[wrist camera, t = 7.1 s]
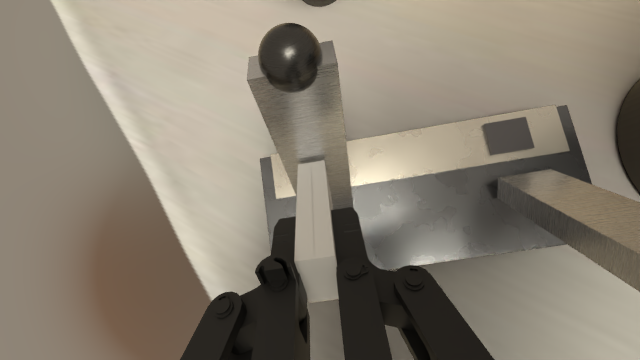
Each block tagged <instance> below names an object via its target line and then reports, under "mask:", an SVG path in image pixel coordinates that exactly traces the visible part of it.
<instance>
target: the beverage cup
mask: <svg viewBox="0 0 640 360" xmlns="http://www.w3.org/2000/svg"><path fill="white" fill-rule="evenodd" d="M303 1H304V2H306V3H307V4H309V5H312V6H321V7H322V6H326V5H329V4H331V3H333V2H334V1H336V0H303Z"/></svg>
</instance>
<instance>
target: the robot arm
mask: <svg viewBox="0 0 640 360" xmlns="http://www.w3.org/2000/svg"><path fill="white" fill-rule="evenodd" d="M617 138H618V146H619V151H620V155H621V159H622V162H623V164H624V167H625V169H626V171H627V173H628V175H629V177H630V179H631V180H632V182H633V184H634V185H635V186H636V188H637V189H638V191H639V192H640V80H639V81H638V82H637V83H636V84H635V85H634V86H633V88H632V89H631V90H630V92H629V93H628V95H627V97H626V99H625V101H624V103H623V105H622V108H621V111H620V114H619V119H618V127H617ZM255 273H256V275H257V277H258V279H259V281H260V283H261V285H260V286H258V287H257V288H255V289H254V290H252V291H250V292H247V293H245V294H243V295H241V296H239V295H238V294H237V293H234V292H225V293H223V294H221V295H219V296H217V297H216V298H215V299H214V300H212V302H211V303H210V305H209V306H208V308H207V310H206V311H205V314H204V315H203V317H202V319H201V321H200V323H199V325H198V327H197V329H196V331H195V332H194V334H193V336H192V338H191V340H190V342H189V344H188V346H187V348H186V350H185V352H184V353H183V355H182V357H181V359H180V360H310V323H309V313H308V310H307V299H308V302H309V303H314V302H321V301H329V300H336V299H339V307H340V316H341V326H342V336H343V345H344V355H345V360H392V356H391V352H390V347H389V343H388V339H387V334H386V330H385V326H384V325H389V326H394V327H397V328H398V330H399V331H400V333H401V335H402V337H403V339H404V341H405V343H406V345H407V347H408V349H409V350H410V352H411V354H412V356H413V358H414V360H494V359H493V357H492V356H491V355H490V353H489V352H488V351H487V349H486V348H485V347H484V345H483V344H482V343H481V341H480V340H479V339H478V337H477V336H476V335H475V333H474V332H473V331H472V329H471V328H470V327H469V325H468V324H467V323H466V321H465V320H464V319H463V317H462V316H461V315H460V313H459V312H458V310H457V309H456V308H455V306H454V305H453V304H452V302H451V301H450V300H449V298H448V297H447V296H446V294H445V293H444V292H443V290H442V289H441V288H440V286H439V285H438V284H437V282H436V281H435V280H434V278H433V277H432V276H431V274H430V273H428V272H427V271H426V270H425V269H423V268H421V267H419V266H414V265H408V266H403V267H402V268H400V269H398V270H397V272H394V271H387V270H383V269H380V268H378V267H376V266H374V265H373V264H372V263H371V262H370V260H369V259H368V256H367V252H366V248H365V243H364V239H363V235H362V231H361V226H360V221H359V217H358V213H357V212H356V211H355V210H354V209H353V208H352V207H347V208H341V209H334V210H333V205H332V197H331V192H330V187H329V182H328V176H327V171H326V166H325V161H324V160H322V161H316V162H310V163H304V164H298V175H297V202H296V216H294V217H288V218H282V219H279V220H278V222H277V223H276V225H275V227H274V232H273V240H272V248H271V256H269V257H267V258H265V259H264V260H262V261H261V262H260V264H259V265H258V266H257V268H256V271H255Z"/></svg>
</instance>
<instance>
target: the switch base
mask: <svg viewBox="0 0 640 360" xmlns="http://www.w3.org/2000/svg"><path fill="white" fill-rule="evenodd" d="M346 144H347V153H348V162H349V171H350V180H351V189H352V198H353V207H354V210H355V211H356V212H357V213H358V217H359V221H360V226H361V231H362V235H363V239H364V243H365V248H366V252H367V256H368V259H369V260H370V262H371V263H372V264H373V265H374V266H376V267H378V268H380V269H383V270H389V269H396V268H402V267H403V266H408V265H414V266H417V265H424V264H431V263H438V262H445V261H453V260H460V259H467V258H474V257H481V256H488V255H495V254H502V253H509V252H516V251H523V250H530V249H537V248H544V247H551V246H558V245H566V243H565V242H563V241H562V240H560V239H559V238H557V237H556V236H554V235H553V234H551V233H549V232H548V231H546V230H545V229H543V228H542V227H540V226H539V225H537V224H536V223H534V222H533V221H531V220H530V219H528V218H527V217H525V216H524V215H522V214H521V213H519V212H518V211H516V210H515V209H513V208H512V207H510V206H508V205H507V204H505V203H504V202H502V201H501V200H499V199H498V198H497V190H498V177H505V176H511V175H517V174H523V173H530V172H536V171H542V170H548V169H552V170H554V171H557V172H560V173H562V174H565V175H568V176H570V177H573V178H576V179H578V180H581V181H584V182H586V183H589V184H592V183H591V180H590V176H589V173H588V170H587V167H586V164H585V161H584V158H583V155H582V151H581V148H580V145H579V142H578V139H577V136H576V133H575V129H574V126H573V123H572V120H571V117H570V114H569V111H568V107H567V105H565V106H559V107H556V105H551V106H545V107H540V108H534V109H528V110H522V111H517V112H511V113H505V114H500V115H494V116H488V117H482V118H477V119H471V120H465V121H460V122H454V123H448V124H442V125H437V126H431V127H425V128H420V129H414V130H408V131H402V132H397V133H391V134H385V135H380V136H374V137H368V138H363V139H357V140H351V141H346ZM260 164H261V173H262V181H263V189H264V198H265V206H266V214H267V223H268V231H269V240H270V248H272V240H273V232H274V227H275V225H276V223H277V222H278V220H279V219H282V218H288V217H294V216H296V202H297V196H296V194H295V192H294V189H293V187H292V185H291V182H290V180H289V178H288V175H287V173H286V171H285V168H284V166H283V163H282V161H281V159H280V156H279V154H278V153H277V154H271V157H267V158H261V159H260Z"/></svg>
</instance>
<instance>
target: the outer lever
mask: <svg viewBox="0 0 640 360" xmlns="http://www.w3.org/2000/svg"><path fill="white" fill-rule="evenodd" d="M247 81H248V84H249V86H250V88H251V91H252V93H253V95H254V98H255V100H256V102H257V105H258V107H259V109H260V112H261V114H262V116H263V119H264V121H265V124H266V126H267V128H268V131H269V133H270V135H271V138H272V140H273V142H274V145H275V147H276V149H277V152H278V154H279V156H280V159H281V161H282V163H283V166H284V168H285V171H286V173H287V175H288V178H289V180H290V182H291V185H292V187H293V189H294V192H295V194H296V196H297V175H298V164H304V163H310V162H316V161H322V160H324V161H325V166H326V171H327V176H328V182H329V187H330V192H331V197H332V205H333V210H334V209H341V208H347V207H352V208H353V209H354V207H353V198H352V189H351V180H350V171H349V162H348V153H347V144H346V135H345V127H344V118H343V109H342V100H341V91H340V82H339V73H338V64H337V59H336V54H335V50H334V46H333V41H327V42H322V43H319V42H318V40H317V38H316V37H315V36H314V34H313V33H312V32H311V31H310V30H308V29H307V28H305V27H303V26H301V25H299V24H295V23H284V24H280V25H277V26H275V27H273V28H272V29H271V30H270V31H268V32H267V33H266V35H265V36H264V38H263V39H262V41H261V44H260V47H259V52H258V56H253V57H249V63H248V74H247Z"/></svg>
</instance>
